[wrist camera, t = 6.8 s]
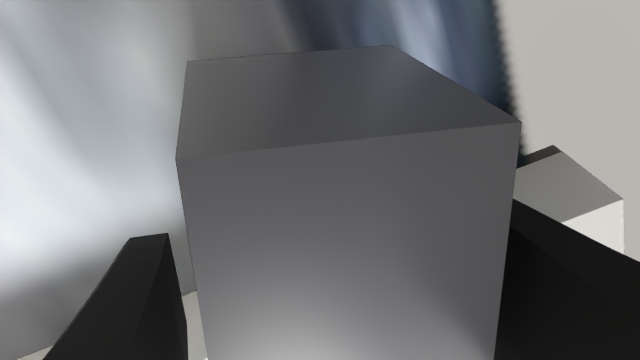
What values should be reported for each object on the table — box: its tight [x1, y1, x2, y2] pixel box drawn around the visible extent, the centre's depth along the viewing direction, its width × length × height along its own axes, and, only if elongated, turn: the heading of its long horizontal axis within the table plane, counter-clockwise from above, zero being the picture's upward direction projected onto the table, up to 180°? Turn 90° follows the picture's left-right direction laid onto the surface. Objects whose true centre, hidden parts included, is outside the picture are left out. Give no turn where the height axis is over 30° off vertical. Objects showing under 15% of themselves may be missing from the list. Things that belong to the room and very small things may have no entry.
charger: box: [175, 45, 522, 360], centre depth 10 cm, size 5×4×7 cm
